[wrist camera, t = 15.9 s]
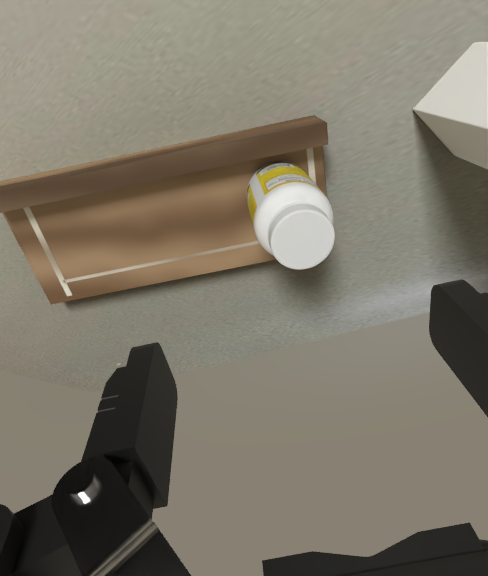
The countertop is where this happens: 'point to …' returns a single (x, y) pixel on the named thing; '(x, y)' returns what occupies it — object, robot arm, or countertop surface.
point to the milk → (461, 106)
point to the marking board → (152, 210)
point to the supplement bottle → (290, 215)
